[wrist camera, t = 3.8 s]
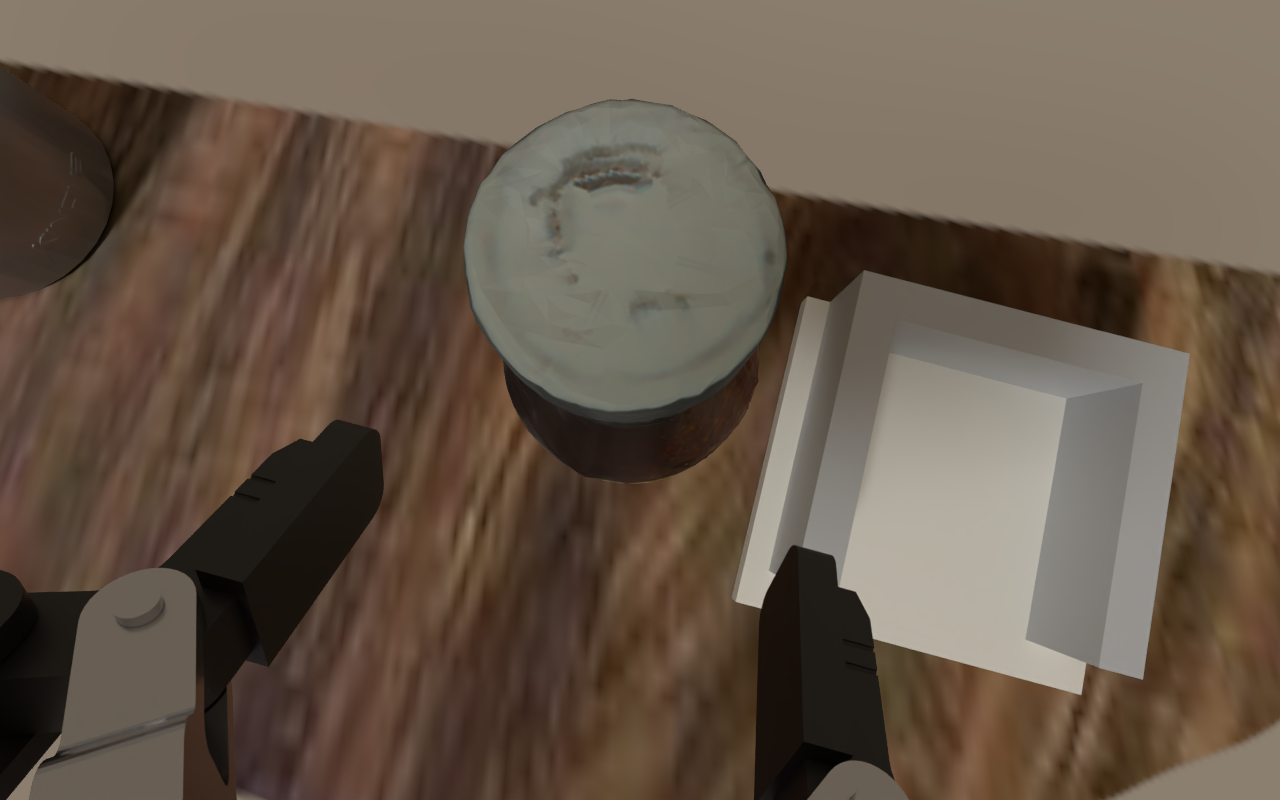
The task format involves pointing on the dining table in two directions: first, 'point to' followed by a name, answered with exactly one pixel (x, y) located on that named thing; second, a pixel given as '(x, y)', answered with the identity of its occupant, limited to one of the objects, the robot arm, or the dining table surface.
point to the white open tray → (974, 477)
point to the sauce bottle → (626, 285)
